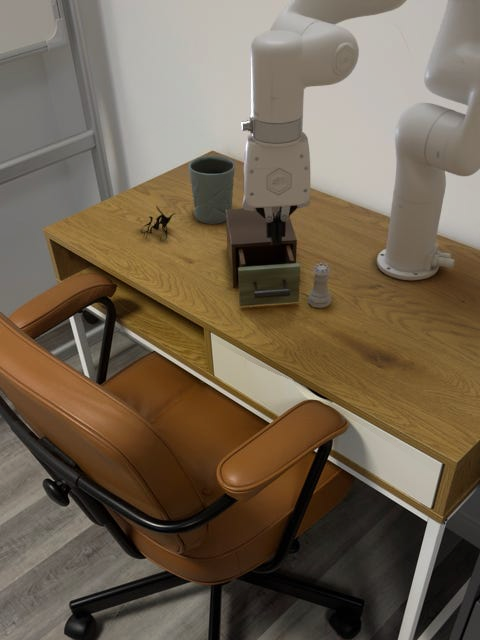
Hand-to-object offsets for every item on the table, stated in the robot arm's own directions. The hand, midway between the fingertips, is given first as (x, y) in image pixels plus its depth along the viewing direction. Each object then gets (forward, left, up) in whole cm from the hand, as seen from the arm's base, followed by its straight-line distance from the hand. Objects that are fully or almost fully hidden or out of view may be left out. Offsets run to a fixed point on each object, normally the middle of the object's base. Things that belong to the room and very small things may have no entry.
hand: (275, 240), depth 116 cm
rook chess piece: (-4, -13, -19) cm, 23 cm away
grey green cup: (+31, -38, -19) cm, 53 cm away
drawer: (+6, -11, -18) cm, 22 cm away
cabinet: (+12, -21, -19) cm, 31 cm away
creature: (+39, -25, -19) cm, 50 cm away
